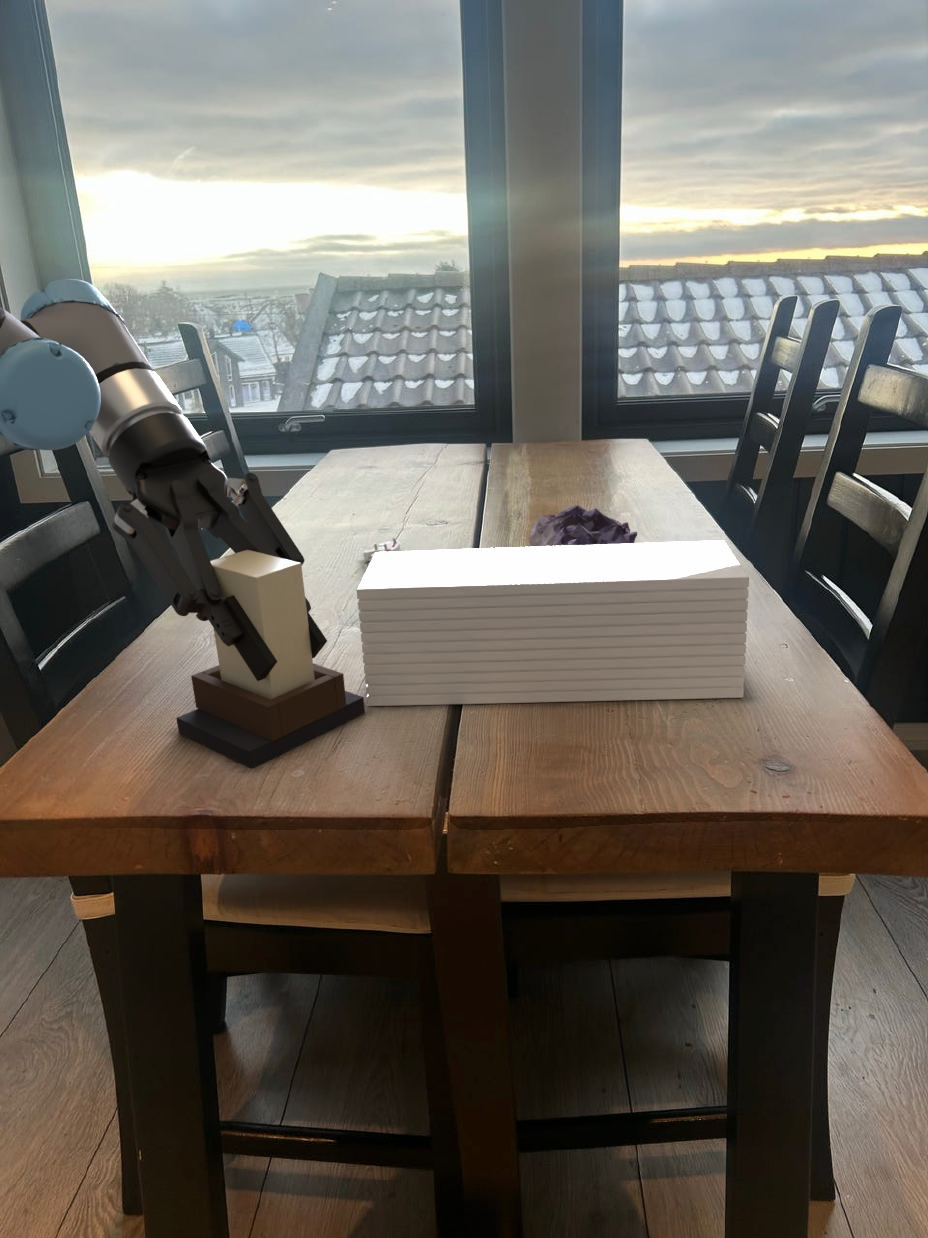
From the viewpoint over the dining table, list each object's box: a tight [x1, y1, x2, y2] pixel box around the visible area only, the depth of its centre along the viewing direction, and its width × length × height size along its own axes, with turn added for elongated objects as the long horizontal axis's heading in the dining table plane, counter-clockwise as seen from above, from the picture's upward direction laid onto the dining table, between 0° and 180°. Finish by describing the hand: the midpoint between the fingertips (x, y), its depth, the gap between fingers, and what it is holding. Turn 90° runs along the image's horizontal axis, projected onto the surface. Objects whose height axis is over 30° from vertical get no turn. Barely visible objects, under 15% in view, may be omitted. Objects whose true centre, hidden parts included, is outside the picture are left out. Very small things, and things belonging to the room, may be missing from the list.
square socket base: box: [176, 663, 366, 769], centre depth 84 cm, size 12×10×4 cm
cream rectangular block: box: [210, 550, 315, 700], centre depth 82 cm, size 4×7×11 cm, turn 48°
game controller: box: [362, 537, 423, 562], centre depth 127 cm, size 6×12×3 cm, turn 101°
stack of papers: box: [356, 539, 750, 707], centre depth 89 cm, size 32×11×11 cm, turn 87°
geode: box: [528, 504, 638, 547], centre depth 110 cm, size 20×12×10 cm, turn 9°
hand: (292, 660), depth 80 cm, fingers closed on cream rectangular block, 4 cm apart
